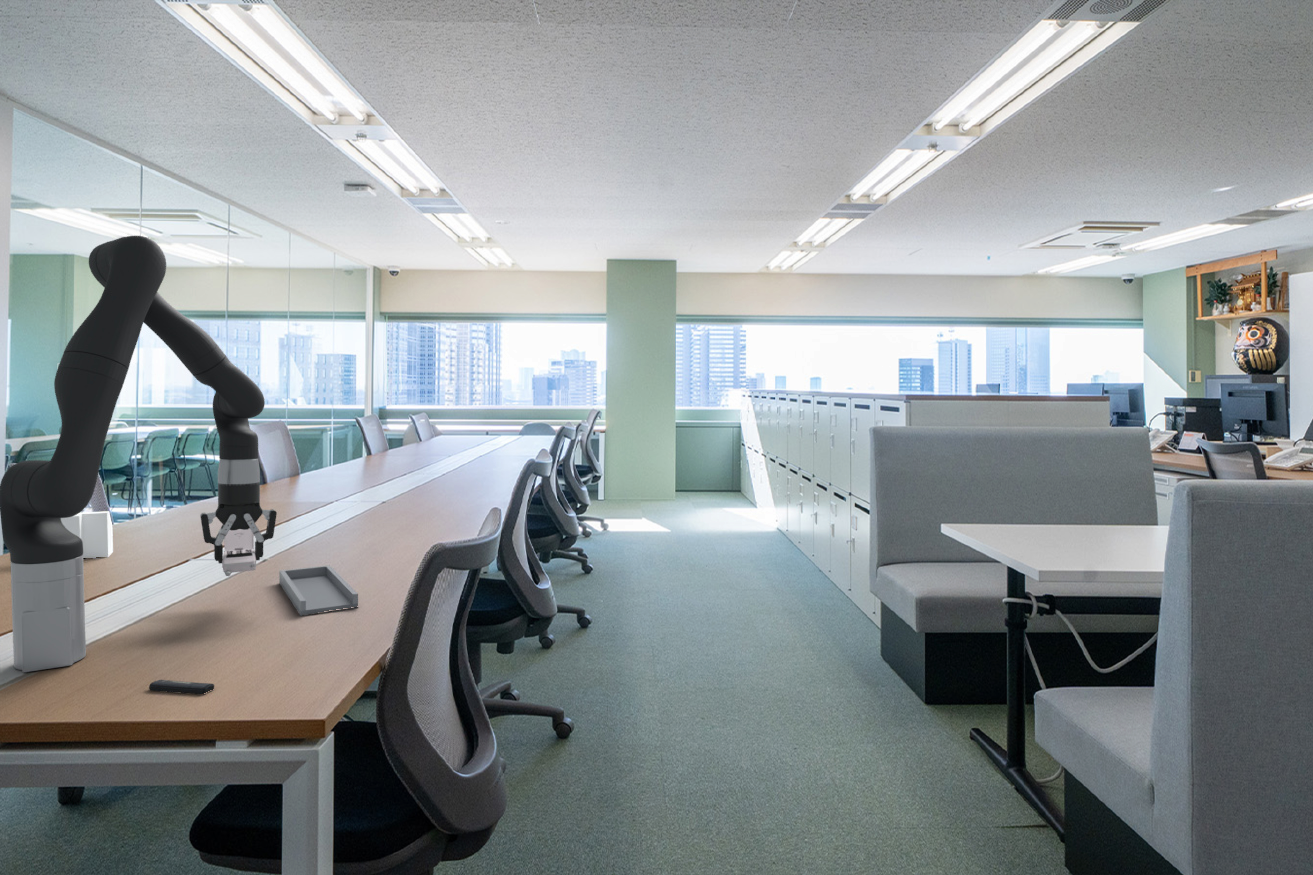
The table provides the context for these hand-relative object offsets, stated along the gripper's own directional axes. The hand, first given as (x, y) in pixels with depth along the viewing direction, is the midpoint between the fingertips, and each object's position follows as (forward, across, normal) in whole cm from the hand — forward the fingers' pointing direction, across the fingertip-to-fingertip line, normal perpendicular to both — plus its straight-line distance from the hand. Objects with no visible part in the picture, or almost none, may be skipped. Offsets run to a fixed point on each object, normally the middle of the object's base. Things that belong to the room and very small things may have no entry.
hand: (239, 560), depth 153 cm
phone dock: (+10, +15, +3) cm, 18 cm away
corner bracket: (+9, -30, +72) cm, 79 cm away
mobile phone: (+1, 0, 0) cm, 1 cm away
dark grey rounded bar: (+11, -11, -43) cm, 46 cm away
